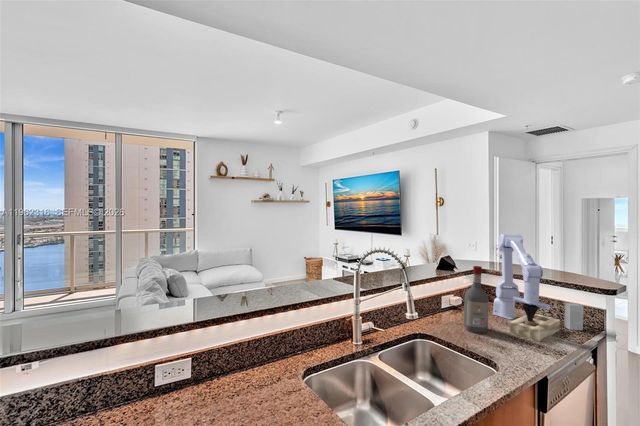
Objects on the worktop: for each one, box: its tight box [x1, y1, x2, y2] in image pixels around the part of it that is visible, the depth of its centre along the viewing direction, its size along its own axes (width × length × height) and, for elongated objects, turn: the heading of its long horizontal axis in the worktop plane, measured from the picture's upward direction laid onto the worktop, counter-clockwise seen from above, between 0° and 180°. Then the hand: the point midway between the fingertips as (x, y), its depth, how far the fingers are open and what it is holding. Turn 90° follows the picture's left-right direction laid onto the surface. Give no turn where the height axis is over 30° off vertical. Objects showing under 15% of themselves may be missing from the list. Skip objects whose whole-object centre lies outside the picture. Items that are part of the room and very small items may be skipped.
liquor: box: [463, 265, 490, 334], centre depth 149 cm, size 9×9×30 cm
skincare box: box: [563, 302, 584, 331], centre depth 152 cm, size 6×4×12 cm
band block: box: [509, 312, 561, 343], centre depth 148 cm, size 12×24×5 cm, turn 126°
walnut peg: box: [525, 319, 536, 326], centre depth 145 cm, size 4×4×5 cm
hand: (530, 320), depth 144 cm, fingers closed, pressing on walnut peg
